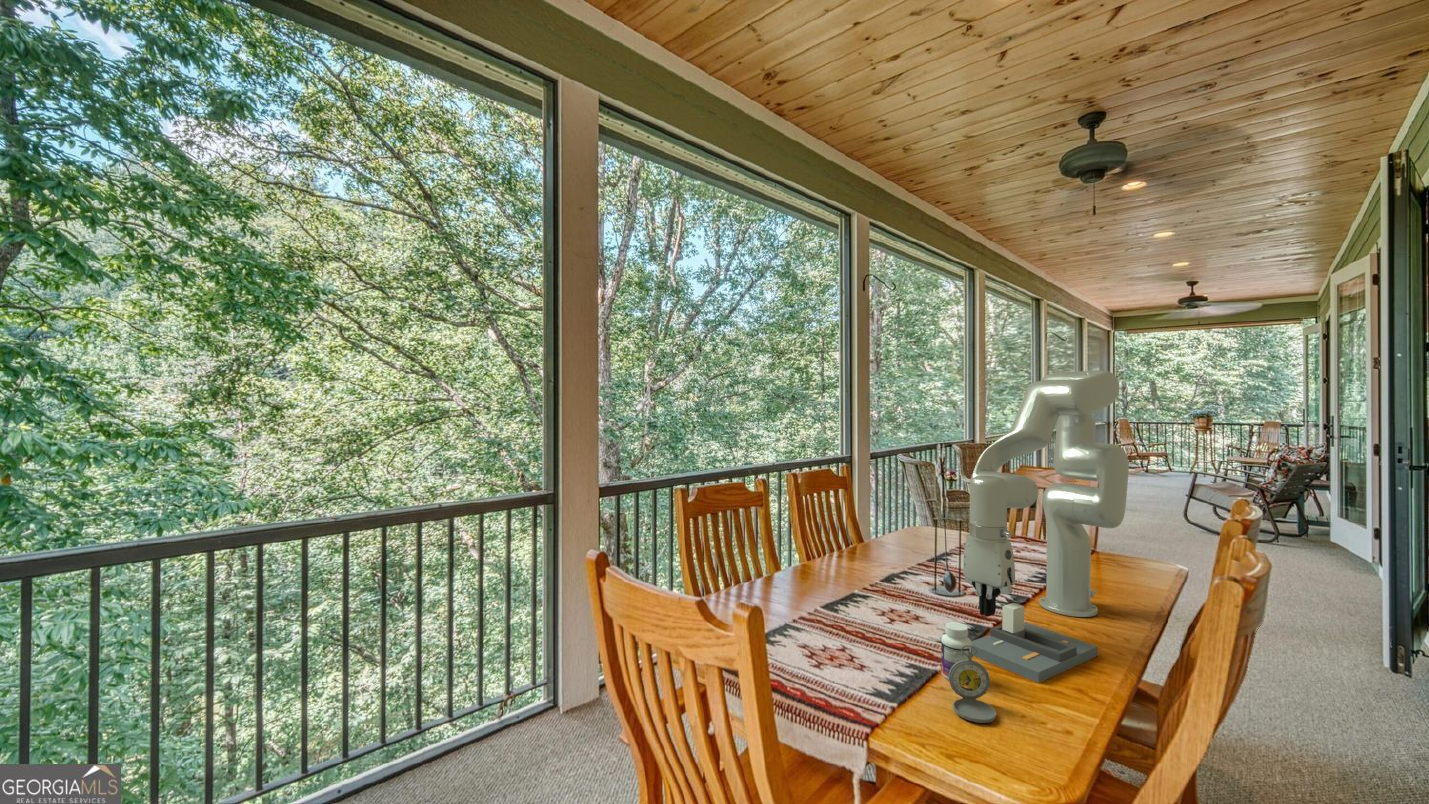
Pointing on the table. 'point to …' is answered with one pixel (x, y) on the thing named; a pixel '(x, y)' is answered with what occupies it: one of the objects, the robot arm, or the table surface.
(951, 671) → the pocket watch
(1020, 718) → the table surface
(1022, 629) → the fader
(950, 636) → the pill bottle
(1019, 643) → the console
